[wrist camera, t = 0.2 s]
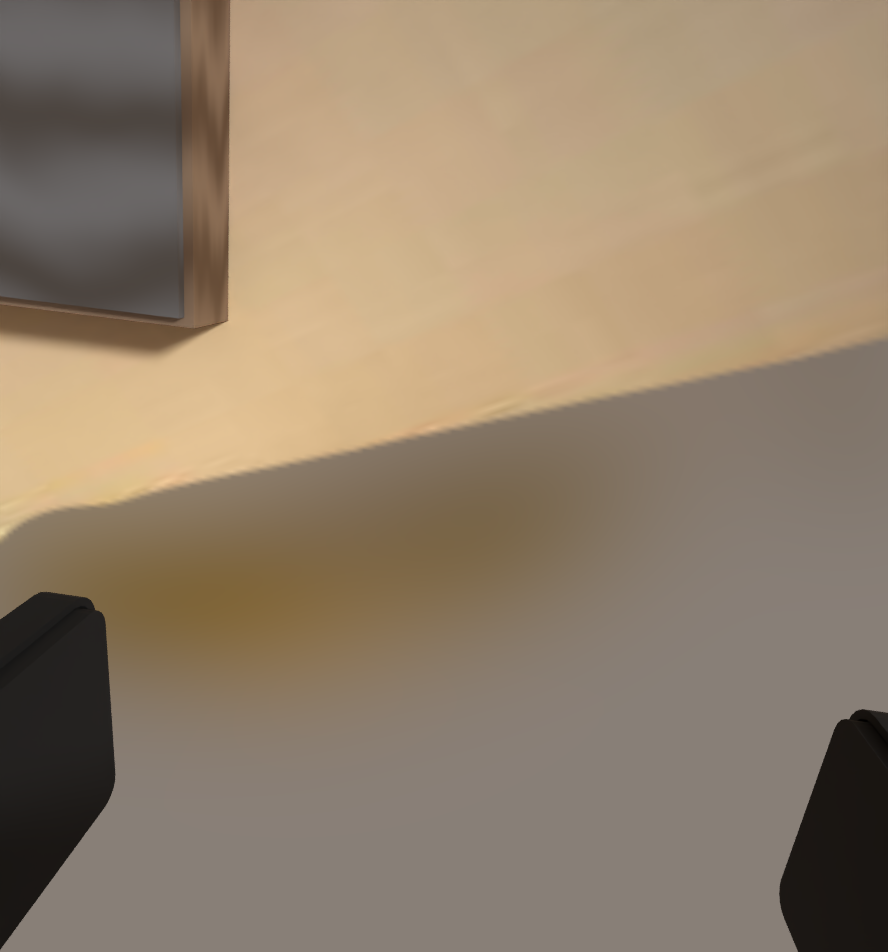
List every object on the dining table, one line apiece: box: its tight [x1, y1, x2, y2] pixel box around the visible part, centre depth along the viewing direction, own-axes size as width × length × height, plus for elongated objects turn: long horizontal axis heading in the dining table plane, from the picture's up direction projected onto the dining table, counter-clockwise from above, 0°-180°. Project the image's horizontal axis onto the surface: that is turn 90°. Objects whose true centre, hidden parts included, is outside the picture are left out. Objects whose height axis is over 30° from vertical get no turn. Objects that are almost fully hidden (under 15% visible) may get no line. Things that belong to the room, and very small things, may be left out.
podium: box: [0, 0, 230, 328], centre depth 34 cm, size 20×20×5 cm
